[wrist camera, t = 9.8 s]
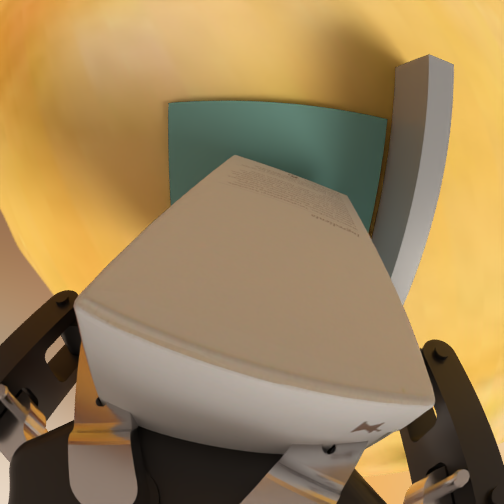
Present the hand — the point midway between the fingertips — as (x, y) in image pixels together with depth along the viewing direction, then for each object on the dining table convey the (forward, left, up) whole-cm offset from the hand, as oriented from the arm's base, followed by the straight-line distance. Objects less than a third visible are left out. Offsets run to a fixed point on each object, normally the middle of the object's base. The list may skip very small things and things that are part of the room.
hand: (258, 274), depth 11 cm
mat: (0, 0, -4) cm, 4 cm away
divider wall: (0, +6, -4) cm, 8 cm away
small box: (0, 0, -3) cm, 3 cm away
